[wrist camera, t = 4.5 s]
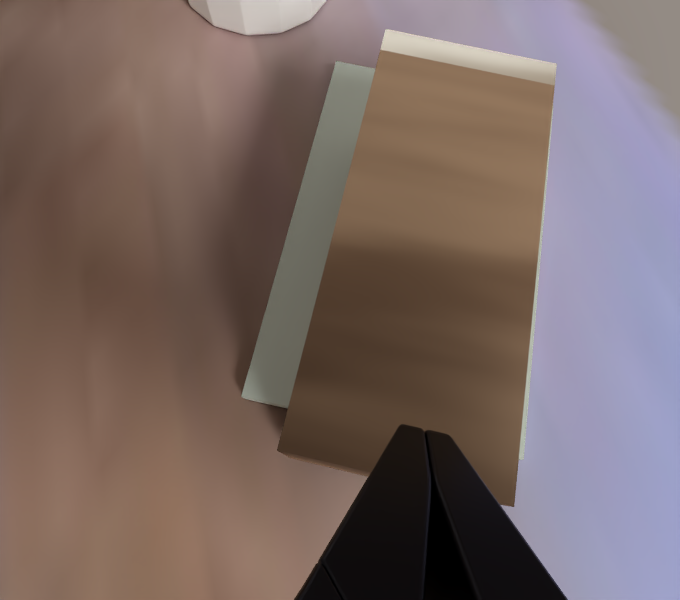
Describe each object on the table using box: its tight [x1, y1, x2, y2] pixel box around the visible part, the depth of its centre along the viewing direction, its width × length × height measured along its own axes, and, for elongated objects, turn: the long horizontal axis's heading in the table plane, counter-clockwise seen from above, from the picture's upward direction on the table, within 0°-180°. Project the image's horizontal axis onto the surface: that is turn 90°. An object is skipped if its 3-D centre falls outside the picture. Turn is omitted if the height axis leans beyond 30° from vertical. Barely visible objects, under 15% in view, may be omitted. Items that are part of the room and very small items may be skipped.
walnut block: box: [277, 29, 557, 507], centre depth 15 cm, size 5×5×12 cm
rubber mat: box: [241, 61, 553, 460], centre depth 18 cm, size 14×9×1 cm, turn 167°
